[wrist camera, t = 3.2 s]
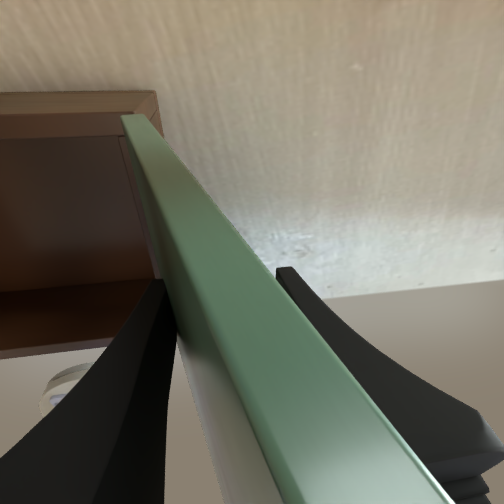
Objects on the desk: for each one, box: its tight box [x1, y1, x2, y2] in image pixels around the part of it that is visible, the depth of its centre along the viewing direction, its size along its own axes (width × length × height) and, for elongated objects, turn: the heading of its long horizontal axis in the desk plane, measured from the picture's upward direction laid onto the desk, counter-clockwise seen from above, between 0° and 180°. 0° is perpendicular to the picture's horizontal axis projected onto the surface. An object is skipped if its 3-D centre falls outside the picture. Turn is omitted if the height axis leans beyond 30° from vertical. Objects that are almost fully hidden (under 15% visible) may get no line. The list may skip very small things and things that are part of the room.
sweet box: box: [0, 90, 164, 359], centre depth 15 cm, size 14×13×6 cm
